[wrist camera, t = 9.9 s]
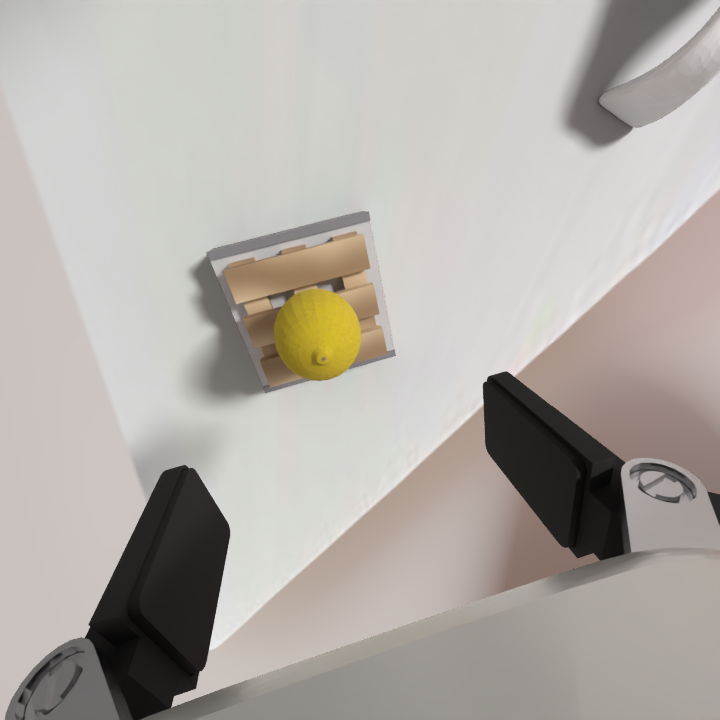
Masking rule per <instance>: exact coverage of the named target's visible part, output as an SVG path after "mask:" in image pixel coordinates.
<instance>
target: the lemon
mask: <svg viewBox="0 0 720 720" xmlns="http://www.w3.org/2000/svg"><path fill="white" fill-rule="evenodd" d="M274 341H275V345H276V348H277V352H278V354H279V355H280V357H281V359H282V361H283V362H284V364H285V365H286V366H287V367H288V368H289V369H290V370H291V371H292V372H294V373H295V374H297V375H299V376H301V377H303V378H306V379H309V380H317V381H322V380H328V379H332V378H334V377H337V376H339V375H341V374H342V373H343V372H345V371H346V370H347V369H348V368H349V367H350V366H351V365H352V364H353V362H354V360H355V358H356V357H357V355H358V352H359V348H360V344H361V328H360V324H359V321H358V317H357V315H356V313H355V312H354V310H353V308H352V307H351V305H350V304H349V303H348V302H347V301H346V300H345V299H343V298H342V297H341V296H339V295H337V294H336V293H334V292H332V291H328V290H324V289H309V290H304V291H301V292H299V293H297V294H295V295H293V296H292V297H291V298H290V299H288V300H287V301H286V302H285V303H284V304H283V306H282V308H281V309H280V311H279V312H278V314H277V317H276V321H275V324H274Z"/></svg>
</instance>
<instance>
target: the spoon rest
mask: <svg viewBox="0 0 720 720" xmlns="http://www.w3.org/2000/svg"><path fill="white" fill-rule="evenodd" d="M718 73H720V7H719V8H718V10H717V11H716V12H715V13H714V15H713V16H712V17H711V18H710V19H709V21H708V22H707V23H706V24H705V25H704V26H703V27H702V28H701V30H700V31H699V32H698V33H697V34H696V35H695V36H694V37H693V38H692V39H691V40H689V41H688V42H687V43H686V44H685V45H684V46H683V47H682V48H680V49H679V50H678V51H677V52H676V53H674V54H673V55H672V56H671V57H670V58H668V59H667V60H665V61H664V62H663V63H661V64H660V65H658V66H657V67H655V68H654V69H652V70H650V71H648V72H646V73H645V74H643V75H641V76H639V77H637V78H635V79H633V80H631V81H629V82H627V83H624V84H622V85H620V86H617V87H615V88H613V89H611V90H609V91H607V92H605V93H604V94H603V95H602V96H601V97H600V99H599V103H600V104H601V105H602V106H603V107H604V108H605V109H607V110H608V111H610V112H611V113H613V114H614V115H615V116H616V117H618V118H619V119H621V120H622V121H623V122H625V123H626V124H628V125H630V126H632V127H635V128H639V127H642V126H645V125H647V124H650V123H652V122H655V121H657V120H659V119H661V118H663V117H664V116H666V115H668V114H669V113H671V112H672V111H674V110H675V109H677V108H678V107H679V106H681V105H682V104H684V103H685V102H686V101H687V100H689V99H690V98H691V97H692V96H694V95H695V94H696V93H697V92H698V91H700V90H701V89H702V88H703V87H704V86H705V85H706V84H707V83H709V82H710V81H711V80H712V79H713V78H714V77H715V76H716V75H717V74H718Z"/></svg>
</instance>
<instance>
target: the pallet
mask: <svg viewBox="0 0 720 720" xmlns="http://www.w3.org/2000/svg"><path fill="white" fill-rule="evenodd" d="M281 253H282V254H281V255H277V256H273V257H269V258H265V259H261V260H257V261H256V258H255V257H251V258H247V259H243V260H239V261H235V262H231V263H230V264H229V265H228V266H229V268H226V269H224V270H223V272H224V275H225V277H226V280H227V282H228V285H229V287H230V290H231V292H232V294H233V297H234V299H235V302H236V304H239V303H242V302H243V304H244V306H245V309H246V311H247V314H248V315H247V316H244V318H243V321H244V324H245V326H246V329H247V331H248V334H249V336H250V339H251V341H252V344H253V346H254V348H258V347H261V349H262V352H263V354H264V357H262V358H261V360H260V363H261V366H262V368H263V371H264V373H265V375H266V378H267V380H268V383H269V385H270V388H271V387H274V386H278V385H281V384H285V383H288V382H292V381H295V380H299V379H302V378H303V377H301V376H299V375H297V374H295V373H294V372H292V371H291V370H290V369H289V368H288V367H287V366H286V365H285V364H284V362H283V361H282V359H281V357H280V355H279V354H278V352H277V348H276V345H275V341H274V324H275V321H276V317H277V314H278V312H279V311H280V309H281V308H282V306H281V307H277V308H273V306H272V303H271V301H270V298H269V295H273V294H276V293H280V292H284V291H288V290H291V289H293V290H294V294H297V293H299V292H301V291H304V290H309V289H318V287H317V283H318V282H322V281H325V280H329V279H333V278H337V277H340V276H341V278H342V283H343V287H344V290H340V291H337V292H334V293H336V294H337V295H339V296H341V297H342V298H343V299H345V300H346V301H347V302H348V303H349V304H350V305H351V307H352V308H353V310H354V312H355V313H356V315H357V317H358V321H359V324H360V328H361V344H360V348H359V352H358V355H357V357H356V358H355V360H354V362H353V364H355V363H358V362H362V361H365V360H369V359H372V358H376V357H379V356H383V355H386V354H388V353H387V348H386V343H385V338H384V333H383V328H382V327H381V325H377V326H376V321H375V316H374V315H378V314H380V313H379V308H378V303H377V299H376V294H375V289H374V284H373V283H372V282H370V283H368V282H367V278H366V273H365V270H367V269H370V264H369V259H368V254H367V249H366V244H365V239H364V235H363V234H359V235H358V234H357V232H356V231H353V232H349V233H345V234H341V235H337V236H333V237H332V241H331V242H328V243H324V244H320V245H316V246H312V247H308V248H306V244H302V245H298V246H294V247H290V248H286V249H282V250H281Z"/></svg>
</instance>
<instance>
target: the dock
mask: <svg viewBox="0 0 720 720" xmlns="http://www.w3.org/2000/svg"><path fill="white" fill-rule="evenodd" d="M353 231H356V232H357V234H358V235H359V234H363V235H364V239H365V244H366V249H367V254H368V259H369V264H370V269H367V270H365V273H366V278H367V282H368V283H370V282H372V283H373V284H374V289H375V294H376V299H377V303H378V308H379V313H380V314H378V315H374V316H375V321H376V326H377V325H381V327H382V328H383V333H384V338H385V343H386V348H387V353H388V354H386V355H383V356H379V357H376V358H372V359H369V360H365V361H362V362H358V363H355V364H352V365H351V366H350V367H349V368H348V369H351V368H354V367H358V366H361V365H365V364H368V363H372V362H375V361H379V360H382V359H386V358H389V357H393V356H396V354H395V350H394V345H393V340H392V334H391V329H390V324H389V318H388V313H387V308H386V302H385V297H384V292H383V286H382V281H381V276H380V271H379V265H378V260H377V255H376V249H375V244H374V239H373V233H372V228H371V223H370V216H369V212H365V211H361V212H357V213H353V214H349V215H345V216H341V217H337V218H333V219H329V220H325V221H321V222H317V223H313V224H309V225H305V226H301V227H297V228H293V229H290V230H286V231H282V232H278V233H274V234H270V235H266V236H262V237H258V238H254V239H250V240H246V241H242V242H238V243H234V244H230V245H226V246H222V247H218V248H214V249H212V250H210V251H208V252H207V256H208V258H209V260H210V262H211V264H212V267H213V269H214V271H215V274H216V276H217V278H218V281H219V283H220V286H221V288H222V290H223V293H224V295H225V298H226V300H227V302H228V305H229V307H230V309H231V312H232V314H233V317H234V319H235V321H236V324H237V326H238V329H239V331H240V333H241V336H242V338H243V340H244V343H245V345H246V348H247V350H248V352H249V355H250V357H251V359H252V362H253V364H254V367H255V369H256V371H257V374H258V376H259V379H260V381H261V383H262V386H263V389H264V391H265V393H267V392H271V391H274V390H278V389H281V388H285V387H288V386H292V385H295V384H298V383H302V382H305V381H309V379H306V378H302V379H299V380H295V381H292V382H288V383H285V384H281V385H278V386H274V387H271V388H270V385H269V383H268V380H267V378H266V375H265V373H264V371H263V368H262V366H261V363H260V360H261V358H262V357H264V354H263V352H262V349H261V347H258V348H254V346H253V344H252V341H251V339H250V336H249V334H248V331H247V329H246V326H245V324H244V321H243V318H244V316H247V315H248V314H247V311H246V309H245V306H244V304H243V302H242V303H239V304H236V302H235V299H234V297H233V294H232V292H231V290H230V287H229V285H228V282H227V280H226V277H225V275H224V272H223V270H224V269H226V268H229V266H228V265H229V264H230V263H231V262H235V261H239V260H243V259H247V258H251V257H255V258H256V261H257V260H261V259H265V258H269V257H273V256H277V255H281V254H282V253H281V250H282V249H286V248H290V247H294V246H298V245H302V244H306V248H308V247H312V246H316V245H320V244H324V243H328V242H331V241H332V237H333V236H337V235H341V234H345V233H349V232H353ZM317 287H318V289H324V290H328V291H332V292H337V291H340V290H344V287H343V283H342V278H341V276H340V277H337V278H333V279H329V280H325V281H322V282H318V283H317ZM293 295H295V294H294V290H293V289H291V290H288V291H284V292H280V293H276V294H273V295H269V298H270V301H271V303H272V306H273V308H277V307H281V306H283V304H284V303H285V302H286V301H287V300H288V299H290V298H291V297H292V296H293Z"/></svg>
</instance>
